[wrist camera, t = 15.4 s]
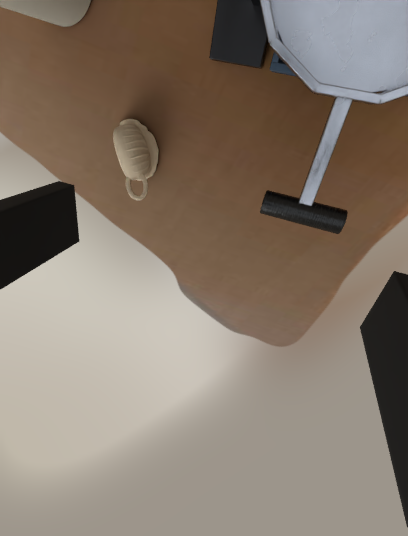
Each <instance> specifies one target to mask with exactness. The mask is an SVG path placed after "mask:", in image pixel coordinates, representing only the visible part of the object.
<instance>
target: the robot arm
mask: <svg viewBox="0 0 408 536" xmlns="http://www.w3.org/2000/svg"><path fill="white" fill-rule="evenodd" d="M77 242H79V233H78V223H77V212H76V200H75V189H74V185H71V184H67V183H64V182H60V181H58V182H55V183H52V184H49V185H46V186H43V187H39V188H36V189H33V190H30V191H27V192H24V193H21V194H18V195H15V196H11V197H8V198H5V199H2V200H0V289H2V288H4V287H5V286H7V285H9V284H10V283H12V282H13V281H15V280H17V279H18V278H20V277H22V276H23V275H25V274H27V273H28V272H30V271H31V270H33V269H35V268H36V267H38V266H40V265H41V264H43V263H45V262H46V261H48V260H49V259H51V258H53V257H54V256H56V255H58V254H59V253H61V252H62V251H64V250H66V249H67V248H69V247H71V246H72V245H74V244H76V243H77ZM360 329H361V334H362V338H363V342H364V346H365V351H366V355H367V359H368V363H369V367H370V372H371V376H372V380H373V384H374V389H375V393H376V397H377V401H378V406H379V410H380V414H381V418H382V423H383V427H384V431H385V435H386V439H387V444H388V448H389V452H390V456H391V461H392V465H393V469H394V473H395V477H396V482H397V486H398V490H399V494H400V499H401V503H402V507H403V511H404V516H405V520H406V524H407V527H408V275H406V274H403V273H399V272H396V271H394V272H393V274H392V275H391V277H390V279H389V280H388V282H387V284H386V285H385V287H384V289H383V290H382V292H381V294H380V295H379V297H378V299H377V300H376V302H375V304H374V305H373V307H372V308H371V310H370V312H369V313H368V315H367V317H366V318H365V320H364V322H363V323H362V325H361V326H360Z"/></svg>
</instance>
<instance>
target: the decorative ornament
mask: <svg viewBox="0 0 408 536" xmlns="http://www.w3.org/2000/svg"><path fill="white" fill-rule="evenodd" d="M113 141H114V146H115V150H116V153H117V157H118V159H119V162H120V165H121V168H122V170H123V172H124V174H125V175H126V177H127V178H126V188H127V191H128V193H129V195H130V196H131V197H132V198H133V199H134V200H142V199H144V198H145V197H146V195H147V193H148V182H147V179H148V178H149V177H151V176H153V173H154V172H155V171H156V165H157V163H158V153H159V150H158V147H157V145H156V141H155V138H154V136H153V135H152V134H151V133H150V132H149V131H148V130H147V128H146V126H144V125H141V123H140V122H139V121H138V120H133V119H126V120H124V121H122V122H120V126H119V127H117V128H115V130H114V133H113ZM131 180H138V181H140V180H142V181H143V185H144V190H143V193H142V194H141V195H140V196H136V195H135V194H134V193H133V192H132V189H131Z"/></svg>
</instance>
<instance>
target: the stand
mask: <svg viewBox="0 0 408 536" xmlns="http://www.w3.org/2000/svg"><path fill="white" fill-rule="evenodd" d="M267 43H268V37H267V32H266V27H265V23H264V18H263V13H262V8H261V4H260V0H218V2H217V9H216V16H215V23H214V30H213V37H212V44H211V51H210V59H212V60H216V61H222V62H227V63H233V64H238V65H244V66H249V67H255V68H262V65H263V60H264V56H265V52H266V47H267Z"/></svg>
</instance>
